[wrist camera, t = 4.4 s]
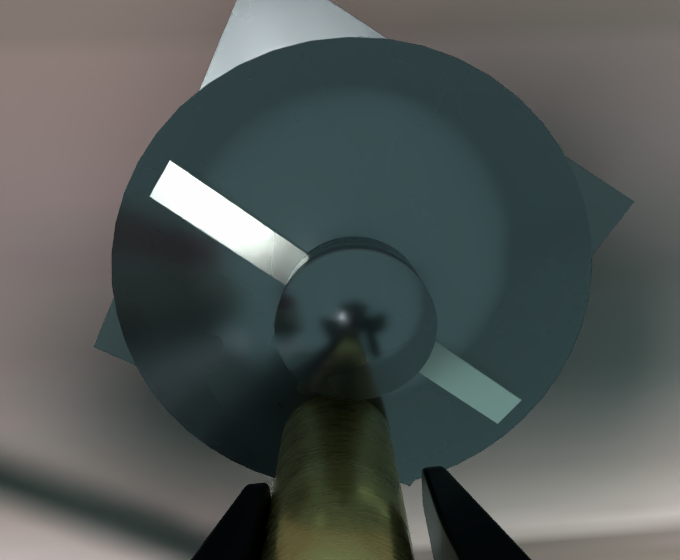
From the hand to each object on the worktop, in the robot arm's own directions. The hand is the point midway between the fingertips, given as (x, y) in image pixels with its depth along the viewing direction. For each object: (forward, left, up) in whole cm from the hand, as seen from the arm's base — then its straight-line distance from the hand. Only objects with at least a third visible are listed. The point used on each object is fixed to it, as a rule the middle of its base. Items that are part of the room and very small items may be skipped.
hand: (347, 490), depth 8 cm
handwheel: (+3, +1, -3) cm, 5 cm away
